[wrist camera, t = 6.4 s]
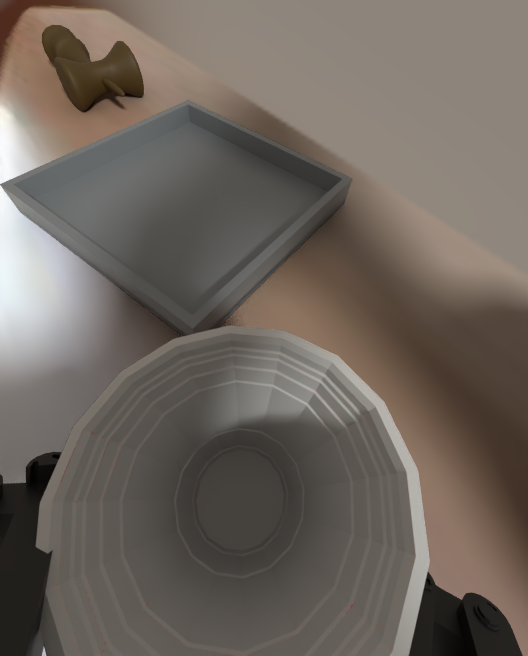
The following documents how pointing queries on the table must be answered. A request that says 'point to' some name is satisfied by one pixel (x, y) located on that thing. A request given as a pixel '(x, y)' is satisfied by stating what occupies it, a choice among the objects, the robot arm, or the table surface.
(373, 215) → the table surface
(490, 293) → the table surface
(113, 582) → the plastic cup
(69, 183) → the grey tray
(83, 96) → the kendama
